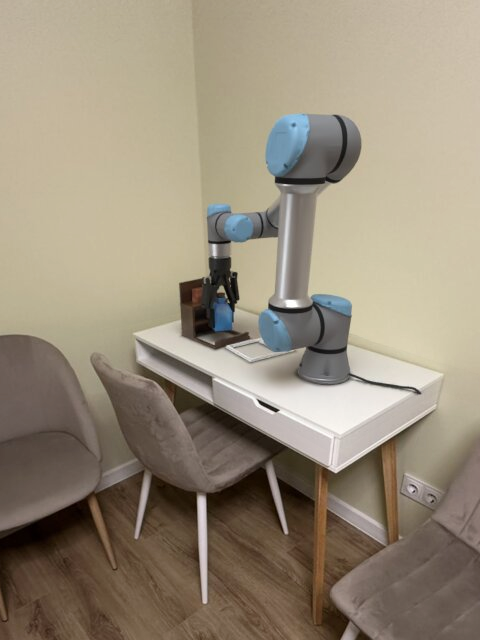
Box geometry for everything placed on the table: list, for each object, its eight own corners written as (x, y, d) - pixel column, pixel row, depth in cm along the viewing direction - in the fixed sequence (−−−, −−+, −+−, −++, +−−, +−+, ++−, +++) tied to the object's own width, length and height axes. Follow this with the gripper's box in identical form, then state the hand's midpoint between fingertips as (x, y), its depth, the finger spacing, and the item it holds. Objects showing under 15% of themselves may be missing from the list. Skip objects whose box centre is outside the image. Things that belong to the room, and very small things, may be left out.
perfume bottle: (210, 326, 168) (209, 292, 162) (226, 324, 170) (226, 290, 163) (215, 331, 163) (214, 296, 157) (232, 329, 164) (232, 294, 158)
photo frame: (295, 347, 157) (250, 358, 149) (294, 350, 158) (250, 362, 150) (269, 335, 168) (226, 345, 160) (269, 338, 168) (226, 348, 161)
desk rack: (249, 338, 169) (250, 284, 159) (215, 349, 160) (214, 293, 150) (215, 325, 181) (214, 275, 172) (181, 335, 172) (178, 282, 163)
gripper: (235, 251, 162) (236, 316, 174) (187, 259, 151) (191, 328, 162) (250, 253, 157) (250, 320, 169) (202, 262, 146) (204, 333, 157)
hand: (221, 324), depth 166 cm, fingers closed on perfume bottle, 8 cm apart
